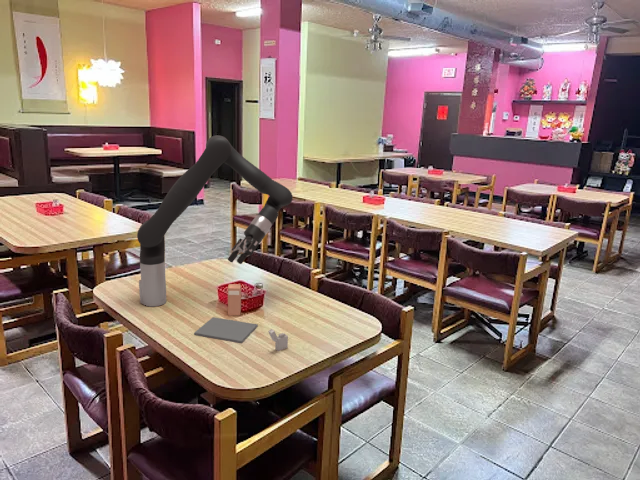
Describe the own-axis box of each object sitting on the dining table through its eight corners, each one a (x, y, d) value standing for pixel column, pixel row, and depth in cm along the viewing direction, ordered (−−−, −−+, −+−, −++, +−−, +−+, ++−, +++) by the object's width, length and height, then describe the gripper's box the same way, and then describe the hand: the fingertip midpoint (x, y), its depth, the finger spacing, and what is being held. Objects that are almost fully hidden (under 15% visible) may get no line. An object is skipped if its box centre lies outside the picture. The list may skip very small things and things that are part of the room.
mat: (194, 334, 169) (194, 332, 169) (213, 319, 182) (213, 317, 182) (241, 343, 164) (241, 341, 164) (257, 326, 177) (257, 324, 177)
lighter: (284, 345, 164) (285, 323, 162) (287, 347, 163) (288, 325, 161) (267, 351, 160) (268, 329, 157) (270, 353, 158) (271, 331, 156)
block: (227, 315, 186) (227, 288, 183) (229, 310, 190) (229, 284, 187) (239, 315, 186) (239, 288, 183) (240, 310, 190) (240, 284, 188)
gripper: (243, 223, 195) (219, 255, 190) (259, 223, 183) (234, 257, 178) (256, 234, 198) (233, 266, 193) (273, 235, 187) (249, 269, 181)
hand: (234, 262), depth 186 cm, fingers open, 8 cm apart
